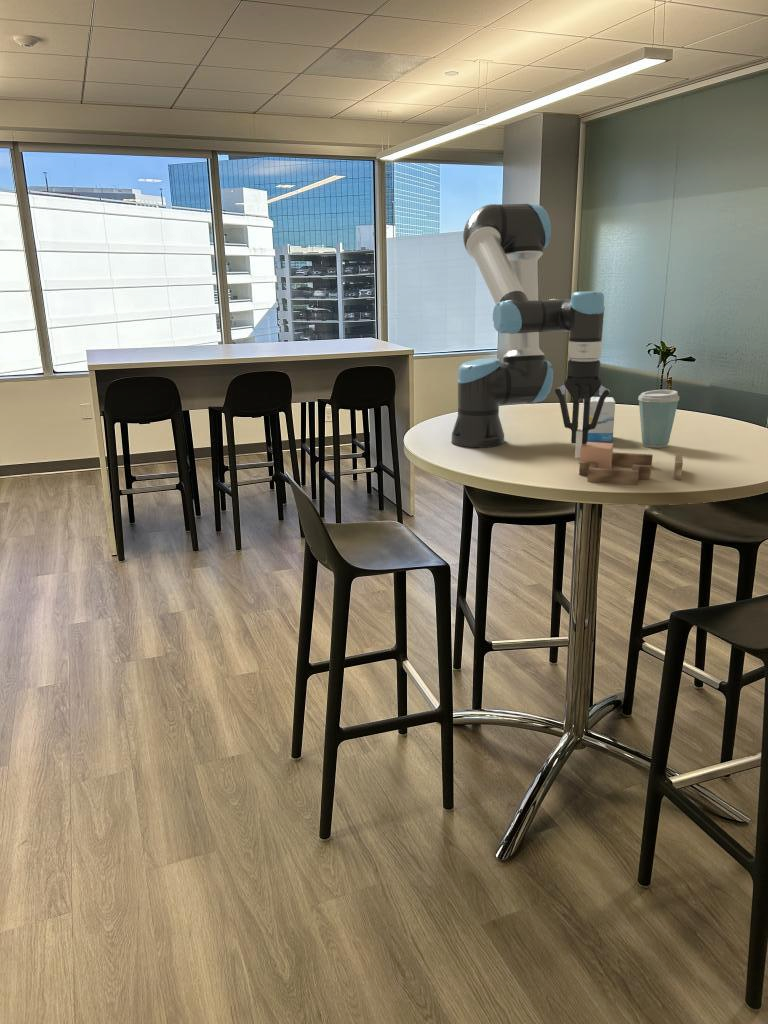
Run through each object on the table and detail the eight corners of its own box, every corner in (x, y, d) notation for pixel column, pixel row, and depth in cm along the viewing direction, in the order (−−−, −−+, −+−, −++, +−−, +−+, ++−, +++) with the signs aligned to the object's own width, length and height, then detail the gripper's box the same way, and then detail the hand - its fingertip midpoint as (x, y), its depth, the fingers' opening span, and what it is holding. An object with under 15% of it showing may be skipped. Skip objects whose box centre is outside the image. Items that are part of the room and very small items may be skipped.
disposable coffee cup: (649, 451, 201) (654, 395, 196) (626, 443, 211) (630, 389, 206) (683, 447, 204) (688, 392, 199) (658, 440, 213) (663, 387, 209)
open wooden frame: (576, 480, 174) (577, 464, 173) (585, 462, 191) (586, 446, 190) (681, 488, 167) (682, 470, 165) (680, 468, 183) (682, 452, 182)
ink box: (612, 442, 212) (615, 401, 209) (582, 441, 214) (584, 401, 210) (610, 436, 220) (613, 396, 217) (580, 435, 222) (582, 396, 218)
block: (579, 471, 182) (580, 447, 180) (582, 465, 188) (583, 441, 186) (609, 473, 180) (610, 449, 178) (611, 466, 186) (613, 443, 184)
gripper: (553, 360, 176) (549, 458, 183) (611, 361, 172) (604, 461, 179) (558, 357, 183) (554, 451, 190) (614, 358, 178) (607, 454, 185)
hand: (578, 456), depth 184 cm, fingers closed
